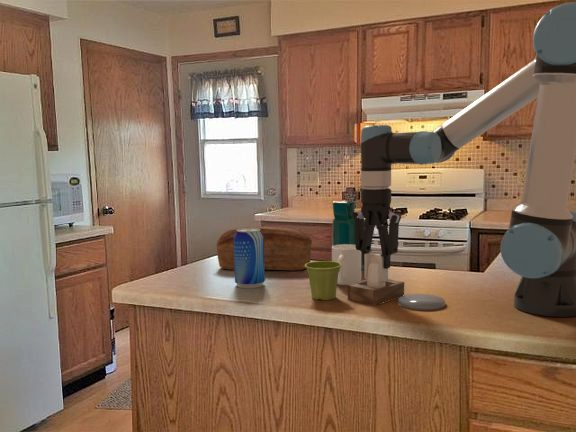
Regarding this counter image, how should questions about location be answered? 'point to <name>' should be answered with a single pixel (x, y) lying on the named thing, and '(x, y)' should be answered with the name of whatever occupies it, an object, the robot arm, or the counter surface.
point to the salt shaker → (374, 273)
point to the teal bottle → (344, 224)
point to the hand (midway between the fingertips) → (376, 279)
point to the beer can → (249, 258)
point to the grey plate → (421, 302)
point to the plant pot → (323, 278)
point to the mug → (347, 263)
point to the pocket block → (375, 292)
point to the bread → (271, 248)
